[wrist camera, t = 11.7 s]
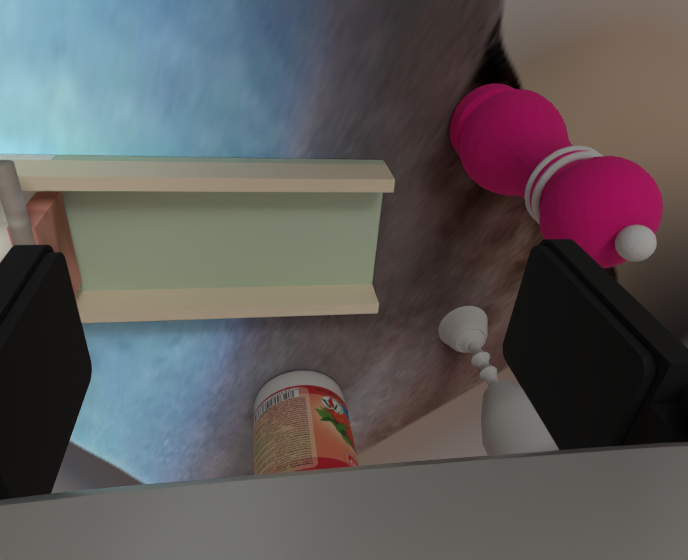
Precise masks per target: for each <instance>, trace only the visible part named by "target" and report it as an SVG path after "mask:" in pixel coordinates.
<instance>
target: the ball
mask: <svg viewBox="0 0 688 560" xmlns="http://www.w3.org/2000/svg"><path fill="white" fill-rule="evenodd" d="M7 227H8V223H4V222H0V262H1V261H2V260H3V258H4V257H5V256H6V254H7V253H8V251H9V250H10V249H11V248H12V244H11V240H10V237H9V234H8V230H7Z"/></svg>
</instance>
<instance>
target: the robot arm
mask: <svg viewBox="0 0 688 560" xmlns="http://www.w3.org/2000/svg"><path fill="white" fill-rule="evenodd" d="M503 355H504V358H505V360H506V362H507V364H508V365H509V367H510V369H511V370H512V372H513V374H514V375H515V377H516V379H517V380H518V382H519V384H520V385H521V387H522V389H523V390H524V392H525V394H526V395H527V397H528V399H529V400H530V402H531V404H532V405H533V407H534V409H535V410H536V412H537V414H538V415H539V417H540V419H541V420H542V422H543V424H544V425H545V427H546V429H547V430H548V432H549V434H550V435H551V437H552V439H553V440H554V442H555V444H556V445H557V447H558V449H559V450H555V451H542V452H529V453H516V454H503V455H490V456H477V457H464V458H452V459H441V460H427V461H414V462H402V463H390V464H378V465H366V466H353V467H341V468H329V469H317V470H305V471H293V472H282V473H270V474H259V475H248V476H236V477H225V478H213V479H202V480H190V481H179V482H168V483H156V484H145V485H134V486H124V487H113V488H102V489H92V490H82V491H72V492H62V493H53V494H51V492H52V489H53V486H54V483H55V480H56V477H57V475H58V472H59V469H60V466H61V463H62V460H63V457H64V454H65V452H66V449H67V446H68V443H69V440H70V437H71V434H72V432H73V429H74V426H75V423H76V420H77V417H78V414H79V412H80V409H81V406H82V403H83V400H84V397H85V394H86V392H87V389H88V386H89V383H90V380H91V373H92V367H91V360H90V356H89V352H88V348H87V343H86V339H85V335H84V331H83V327H82V323H81V319H80V315H79V311H78V307H77V303H76V299H75V295H74V291H73V287H72V282H71V278H70V274H69V270H68V266H67V262H66V259H65V256H64V254H63V253H62V252H54V250H53V248H52V247H51V246H50V245H14V246H13V247H12V248H11V249H10V250H9V251H8V253H7V254H6V256H5V257H4V258H3V260H2V261H1V262H0V560H688V348H686V347H685V346H684V345H683V344H682V343H681V342H680V341H679V340H678V339H677V338H676V337H675V336H674V335H673V334H672V333H671V332H670V331H669V330H667V329H666V328H665V327H664V326H663V325H662V324H661V323H660V322H659V321H658V320H657V319H656V318H655V317H654V316H653V315H652V314H651V313H649V312H648V311H647V310H646V309H645V308H644V307H643V306H642V305H641V304H640V303H639V302H638V301H637V300H636V299H635V298H634V297H633V296H632V295H631V294H629V293H628V292H627V291H626V290H625V289H624V288H623V287H622V286H621V285H620V284H619V283H618V282H617V281H616V280H615V279H614V278H613V277H612V276H610V275H609V274H608V273H607V272H606V271H605V270H604V269H603V268H602V267H601V266H600V265H599V264H598V263H597V262H596V261H595V260H594V259H593V258H591V257H590V256H589V255H588V254H587V253H586V252H585V251H584V250H583V249H582V248H581V247H580V246H579V245H578V244H577V243H576V242H575V241H573V240H572V239H544V240H542V241H541V242H540V243H539V245H538V246H535V247H533V248H532V250H531V252H530V255H529V258H528V262H527V265H526V268H525V272H524V275H523V278H522V282H521V285H520V288H519V292H518V295H517V299H516V302H515V305H514V309H513V312H512V315H511V319H510V322H509V325H508V329H507V332H506V335H505V339H504V342H503Z"/></svg>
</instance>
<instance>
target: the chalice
mask: <svg viewBox="0 0 688 560" xmlns="http://www.w3.org/2000/svg"><path fill="white" fill-rule="evenodd" d="M487 324H488V321H487V316H486V314H485V312H484V311H483V310H481V309H480V308H478V307H475V306H463V307H459V308H456V309H454V310H453V311H451V312H449V313H448V314H447V315H446V316H445V317H444V318H443V319H442V321H441V322H440V324H439V328H438V334H439V337H440V339H441V340H442V341H443V342H444V343H445V344H447V345H449V346H450V347H451V348H453V349H454V350H456V351H458V352H462V353H472V356H473V358H472V360H471V363H472V365H474V366H476V367H479V368H480V372H481V373H480V378H481V379H482V380H485V381H486V382H487V384H488V385H489V387H488V388H487V390H486V391H485V393H484V395H483V406H482V415H481V426H482V441H483V446H484V448H485V450H486V452H487V454H488V456H490V455H503V454H516V453H529V452H542V451H555V450H559V449H558V447H557V445H556V444H555V442H554V440H553V439H552V437H551V435H550V434H549V432H548V430H547V429H546V427H545V425H544V424H543V422H542V420H541V419H540V417H539V415H538V414H537V412H536V410H535V409H534V407H533V405H532V404H531V402H530V400H529V399H528V397H527V395H526V394H525V392H524V390H523V389H522V387H520V386H518V385H516V384H514V383H512V382H510V381H498V379H497V369H496V368H495V367H493V366H491V365H490V364H489V359H490V355H489V353H487V352H483V351H482V350H481V347H482V346H483V345H484V343H485V341H486V339H487V336H488V333H487V330H488V328H487Z"/></svg>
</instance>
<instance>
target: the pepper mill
mask: <svg viewBox="0 0 688 560" xmlns="http://www.w3.org/2000/svg"><path fill="white" fill-rule="evenodd" d="M450 140H451V143H452V146H453V148H454V150H455V151H456V153H457V154H458V155H459V156H460V158H461V162H462V165H463V167H464V169H465V171H466V172H467V174H468V175H469V176H470V178H471V179H472V180H474V181H475V182H476V183H477V184H478V185H480V186H481V187H483V188H484V189H486V190H488V191H491V192H494V193H497V194H501V195H511V196H513V195H518V196H521V197H522V198H524V199H525V205H526V208H527V210H528V212H529V213H530V215H531V216H532V217H533V219H535V220H536V221H537V222H538V223H539V225H540V230H541V233H542V235H543V238H544V239H572V240H573V241H575V242H576V243H577V244H578V245H579V246H580V247H581V248H582V249H583V250H584V251H585V252H586V253H587V254H588V255H589V256H590V257H591V258H593V259H594V260H595V261H596V262H597V263H598V264H599V265H600V266H601V267H602V268H608V267H612V266H615V265H619V264H621V263H623V262H625V261H627V260H629V261H641V260H644V259H646V258H648V257H649V256H650V255H651V254H653V252H654V251H655V248H656V244H657V242H656V237H655V234H656V231H657V229H658V227H659V224H660V221H661V218H662V209H663V203H662V195H661V193H660V190H659V188H658V186H657V184H656V183H655V181H654V179H653V178H652V177H651V176H650V175H649V174H648V173H647V172H646V171H645V170H644V169H643V168H642V167H640V166H639V165H638V164H636V163H634V162H632V161H630V160H627V159H624V158H621V157H614V156H603V155H601V154H599V153H598V152H597V151H595V150H594V149H592V148H589V147H585V146H573V145H572V144H571V143H570V141H569V140H568V134H567V129H566V125H565V123H564V121H563V119H562V117H561V115H560V113H559V112H558V110H557V109H556V108H555V107H554V106H553V104H552V103H550V102H549V101H548V100H547V99H545V98H544V97H543V96H541V95H539V94H538V93H535V92H532V91H529V90H520V89H514V88H512V87H510V86H508V85H505V84H494V83H493V84H487V85H484V86H481V87H478V88H476V89H475V90H473V91H471V92H470V93H469V94H467V95H466V96H465V97H464V98H463V99H462V101H461V102H460V103H459V104H458V106H457V107H456V109H455V111H454V113H453V116H452V118H451V123H450Z"/></svg>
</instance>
